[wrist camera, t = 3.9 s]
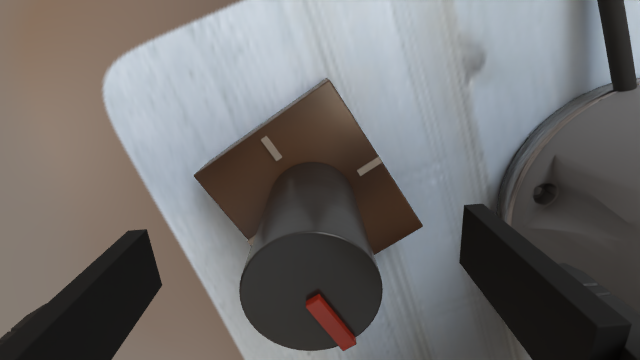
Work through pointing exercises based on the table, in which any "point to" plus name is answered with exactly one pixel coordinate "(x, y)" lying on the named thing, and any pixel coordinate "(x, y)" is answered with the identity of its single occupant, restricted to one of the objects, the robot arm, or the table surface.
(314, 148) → the dial panel
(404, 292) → the table surface
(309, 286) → the dial
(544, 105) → the table surface
